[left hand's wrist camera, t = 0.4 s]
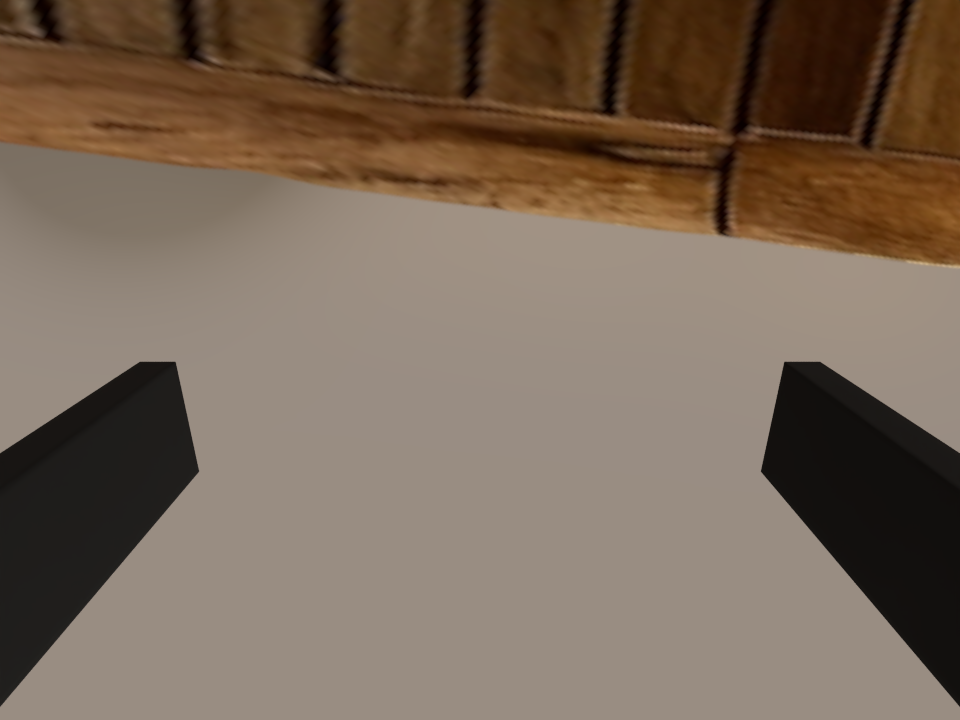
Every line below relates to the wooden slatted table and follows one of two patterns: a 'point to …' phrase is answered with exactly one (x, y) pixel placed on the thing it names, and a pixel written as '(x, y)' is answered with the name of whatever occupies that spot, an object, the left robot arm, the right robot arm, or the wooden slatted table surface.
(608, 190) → the wooden slatted table surface
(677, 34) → the wooden slatted table surface
